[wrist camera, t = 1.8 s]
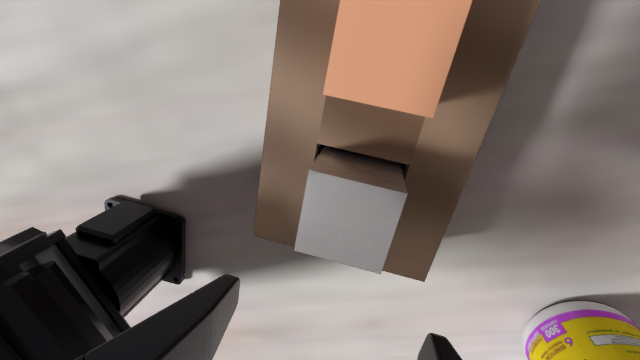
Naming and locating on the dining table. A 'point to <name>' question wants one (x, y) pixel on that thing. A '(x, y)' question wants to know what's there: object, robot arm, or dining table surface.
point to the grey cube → (351, 209)
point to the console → (383, 124)
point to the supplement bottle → (581, 333)
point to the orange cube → (394, 52)
